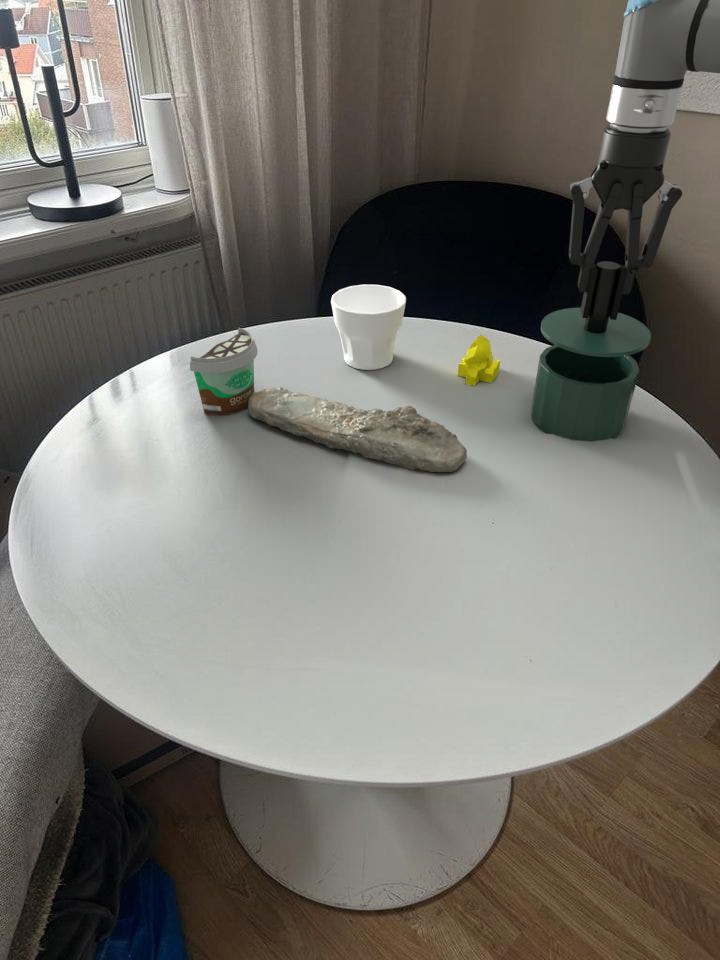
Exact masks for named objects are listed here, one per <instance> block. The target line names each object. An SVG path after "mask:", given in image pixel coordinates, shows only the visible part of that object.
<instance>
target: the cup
mask: <svg viewBox="0 0 720 960" xmlns="http://www.w3.org/2000/svg"><path fill="white" fill-rule="evenodd" d="M406 303H407V297H406V295H405V294H404V293H403V292H401V291H400V290H398V289H396V288H394V287H391V286H386V285H381V284H358V285H350V286H347V287H344V288H341V289H338V291H336V292H334V293H333V295H332V296H331V300H330V304H331V310H332V315H333V320H334V325H335V327H336V329H337V330H338V333H339V338H340V342H341V347H342V352H343V360H344V362H345V364H346V365H348V366H350V367H352V368H353V369H358V370H360V371H361V370H362V371H375V370H381V369H384V368H386V367H388V366H389V365H391V363H392V362H393V359H394V348H395V343H396V338H397V334H398V331H399V330H400V328H401V327H402V325H403V320H404V316H405V315H404V314H405V309H406Z"/></svg>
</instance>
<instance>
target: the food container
mask: <svg viewBox="0 0 720 960" xmlns="http://www.w3.org/2000/svg"><path fill="white" fill-rule="evenodd" d="M237 332H238V333H237V334H235V335H234V336H233V337H231V338H229V339H227V340H224V341H222V342H219V343H217V344H215V345H214V346H213V347H212V348H211V349H210V350H209V351H207V352H206V353H205V354H203V355H202V356H200V357H197V356H196V357H195V356H192V355H190V360H189V371H191V372H193V373H194V377H195V382H196V385H197V389H198V393H199V397H200V401H201V405H202V409H203V412H204V414H209V415H217V416H224V415H232V414H237V413H240V412H242V411H244V410H246V409H249V406H248V405H249V403H248V401H249V399H250V398H251V397H252V395H253V393H255V366H254V365H255V363H254V361H255V360H256V357H257V356H258V352H259V351H258V347H257V344H256V341H255V338H254V337H253V335H252V334H251V332H250V331H248V330H246V329H245V328H242V327H237Z"/></svg>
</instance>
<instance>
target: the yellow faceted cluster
mask: <svg viewBox="0 0 720 960" xmlns="http://www.w3.org/2000/svg"><path fill="white" fill-rule="evenodd" d="M500 364H501V359H497V360H494V355H493V353H492V347H491V340H490V339H488V338H487V337H486V336H484V335H483V334H481V333H480V334H479V335H478V336H477V337H476V339H475V340H474V341H473V342H472V343H471V344H470V345H469V347H468V349H467V352H466V355H465V357H462V358H461V363H458V368H457V376H458V377H462V378H465V385H467V386H472V387H476V386H477V384H478V383H479V382H480V381H481V382H485V383H488V384H492V383H493V382H494V380H495V379H496V378H497V376H498V375H499V372H500V366H501V365H500Z"/></svg>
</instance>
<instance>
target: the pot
mask: <svg viewBox="0 0 720 960" xmlns="http://www.w3.org/2000/svg"><path fill="white" fill-rule="evenodd" d="M538 358H539V359H538V363H537V369H536V371H537V372H536V377H535V383H534V388H533V396H532V400H531V407H530V409H531V410H530V411H531V412H530V413H531V414H530V416H531V417H530V418H531V420H532V422H533V424H534V425H535V426H536V427H537V428H538V429H539V430H540V431H541V432H543V433H545V434H547V435H554V436H557V437H560V438H564V439H566V440H567V439H568V440H571V441H580V442H597V441H605V440H609V439H610V440H615V439H616V438H618V437H619V436H620V435H621V434H622V432H623V431H624V427H625V426H626V423H627V420H628V416H629V413H630V409H631V404H632V400H633V398H634V394H635V393H634V392H635V390H636V386H637V381H638V377H639V374H640V367H639V365H638V362H637V361H636V359H634V358H633V357H632V356H631V355H627V356H620V357H597V356H589V355H583V354H578V353H575V352H571V351H568V350H565V349H563V348H560V347H558V346H556V345H554V344H552V345H551V346H548V347H545V349H544V350H543V351H542V352H541V353H540V355H539V357H538Z"/></svg>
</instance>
